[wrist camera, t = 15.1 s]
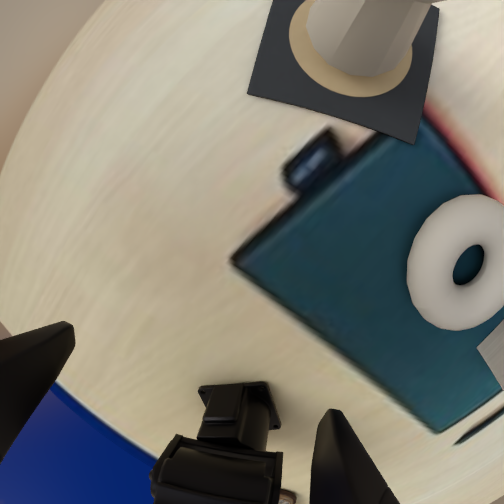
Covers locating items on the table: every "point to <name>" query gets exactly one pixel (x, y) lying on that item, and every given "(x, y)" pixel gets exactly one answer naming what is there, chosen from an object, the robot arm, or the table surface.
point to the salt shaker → (365, 32)
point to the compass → (287, 497)
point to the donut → (444, 259)
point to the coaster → (342, 75)
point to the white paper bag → (494, 352)
